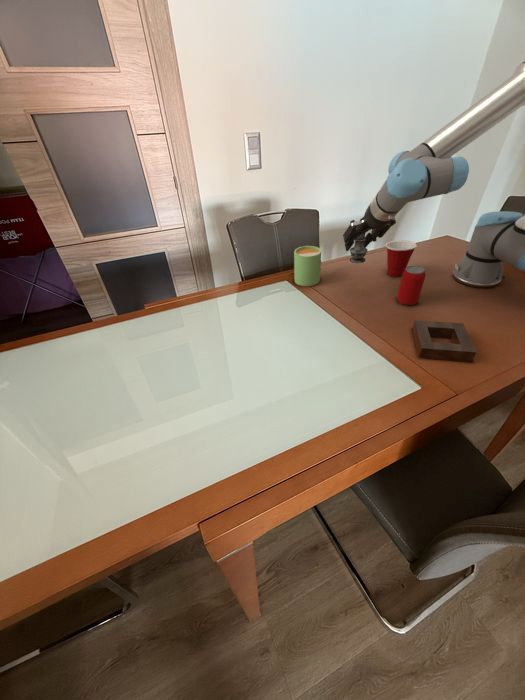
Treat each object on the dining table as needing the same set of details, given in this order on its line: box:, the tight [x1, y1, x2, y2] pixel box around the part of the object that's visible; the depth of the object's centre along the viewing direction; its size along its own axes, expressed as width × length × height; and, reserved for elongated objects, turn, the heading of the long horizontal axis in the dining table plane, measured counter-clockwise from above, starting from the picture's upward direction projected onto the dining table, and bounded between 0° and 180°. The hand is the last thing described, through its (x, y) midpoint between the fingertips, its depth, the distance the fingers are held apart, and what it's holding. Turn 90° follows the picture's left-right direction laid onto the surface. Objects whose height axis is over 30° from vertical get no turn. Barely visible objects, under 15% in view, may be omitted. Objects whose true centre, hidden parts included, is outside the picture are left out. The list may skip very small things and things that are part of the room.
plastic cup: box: [385, 239, 418, 278], centre depth 116 cm, size 11×11×12 cm
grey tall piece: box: [349, 233, 369, 264], centre depth 101 cm, size 6×6×12 cm
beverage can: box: [396, 264, 426, 306], centre depth 100 cm, size 7×7×12 cm
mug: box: [293, 245, 323, 287], centre depth 118 cm, size 13×10×12 cm
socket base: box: [411, 319, 477, 363], centre depth 85 cm, size 13×13×4 cm
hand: (354, 246), depth 105 cm, fingers closed on grey tall piece, 5 cm apart
